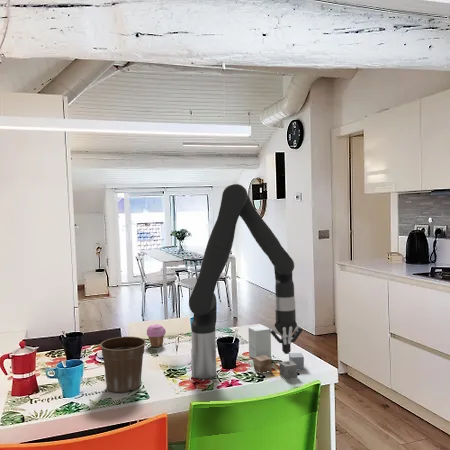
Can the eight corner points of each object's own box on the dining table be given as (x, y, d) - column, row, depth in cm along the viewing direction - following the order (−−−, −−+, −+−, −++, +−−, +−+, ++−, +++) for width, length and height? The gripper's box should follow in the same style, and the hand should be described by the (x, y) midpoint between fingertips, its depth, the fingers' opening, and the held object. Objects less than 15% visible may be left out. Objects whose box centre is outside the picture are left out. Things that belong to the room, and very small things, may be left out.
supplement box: (271, 358, 186) (271, 329, 186) (255, 361, 184) (255, 331, 183) (263, 353, 193) (263, 324, 193) (248, 355, 191) (247, 326, 190)
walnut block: (260, 373, 170) (260, 361, 170) (254, 369, 174) (253, 357, 174) (271, 371, 172) (271, 358, 172) (264, 367, 177) (264, 355, 176)
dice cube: (291, 373, 170) (291, 360, 170) (297, 377, 165) (297, 364, 165) (279, 374, 168) (279, 362, 168) (285, 379, 164) (284, 366, 163)
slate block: (291, 369, 173) (291, 357, 173) (289, 365, 178) (289, 353, 178) (303, 369, 173) (303, 357, 173) (301, 365, 178) (301, 352, 178)
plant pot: (150, 377, 168) (149, 335, 168) (142, 395, 152) (141, 349, 152) (108, 378, 168) (106, 336, 168) (95, 396, 152) (94, 350, 152)
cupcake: (160, 349, 201) (160, 327, 201) (143, 347, 204) (143, 326, 204) (168, 343, 210) (168, 322, 209) (152, 342, 213) (151, 321, 212)
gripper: (271, 311, 161) (272, 358, 161) (305, 308, 163) (306, 354, 164) (265, 307, 168) (266, 351, 169) (298, 304, 170) (299, 348, 171)
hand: (286, 353), depth 166 cm, fingers closed
